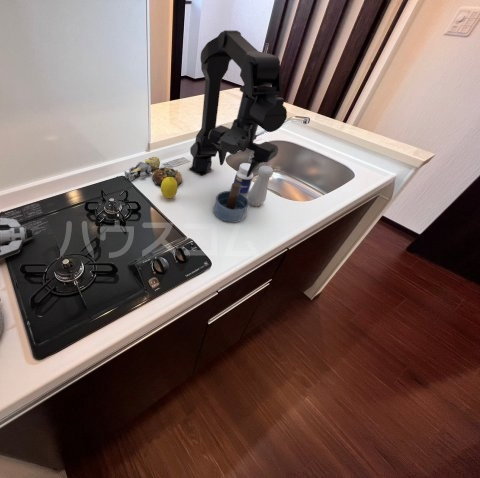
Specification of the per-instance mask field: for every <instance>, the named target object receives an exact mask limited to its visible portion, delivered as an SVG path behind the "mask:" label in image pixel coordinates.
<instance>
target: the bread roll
mask: <svg viewBox="0 0 480 478" xmlns="http://www.w3.org/2000/svg"><path fill="white" fill-rule="evenodd" d="M167 177H172V178H174V179H175V180H176V182H177V186H178V185H181V184H182V182H183V175H182V174H181V172H180V171H179V170H178V169H174V168H173V167H171V168H170V167H166V166H164V167H159V168H157V169H155V171H153V173H152V180H153V182H154V183H155V185H157V186H158V187H161V183H162V181H163V180H164V179H165V178H167Z"/></svg>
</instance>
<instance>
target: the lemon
mask: <svg viewBox="0 0 480 478" xmlns="http://www.w3.org/2000/svg"><path fill="white" fill-rule="evenodd" d="M178 188H179V187H178V185H177V182H176V180H175V179H174V178H172V177H167V178H165V179H164V180H163V181H162V183H161V186H160V193H161V194H162V196H163V197H165V198H167V199H171V198H174V197H175V196H176V195H177V192H178V190H179V189H178Z"/></svg>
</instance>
